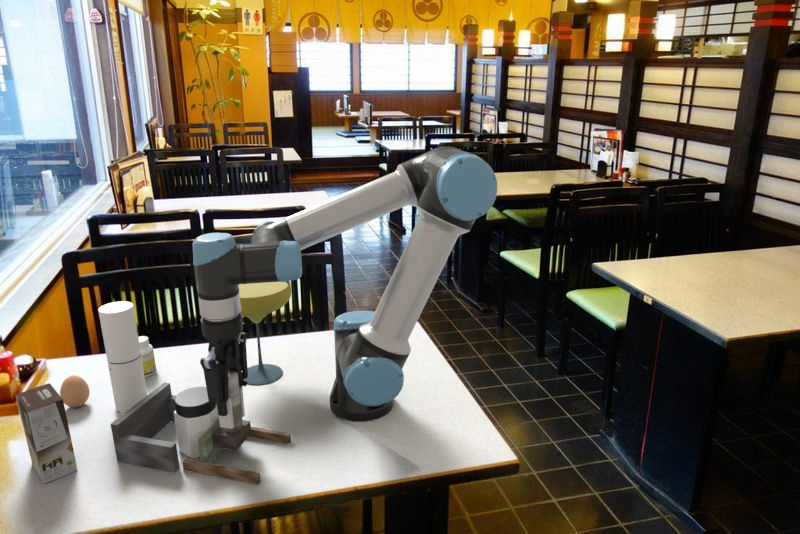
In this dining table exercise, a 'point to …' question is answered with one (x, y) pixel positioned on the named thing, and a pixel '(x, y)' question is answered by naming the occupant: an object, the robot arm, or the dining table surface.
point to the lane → (144, 451)
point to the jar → (193, 418)
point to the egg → (74, 391)
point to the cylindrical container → (123, 354)
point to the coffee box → (47, 432)
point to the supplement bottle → (147, 356)
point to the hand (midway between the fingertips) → (232, 420)
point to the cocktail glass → (255, 306)
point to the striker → (225, 437)
